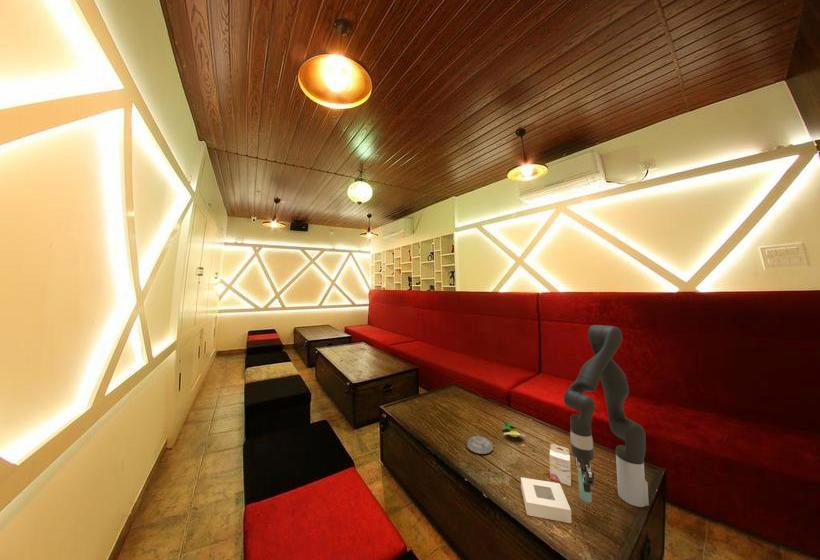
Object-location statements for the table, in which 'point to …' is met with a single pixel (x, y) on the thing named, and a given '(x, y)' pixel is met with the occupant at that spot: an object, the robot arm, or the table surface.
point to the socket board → (545, 500)
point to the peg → (583, 495)
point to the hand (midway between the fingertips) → (584, 486)
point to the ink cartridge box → (560, 464)
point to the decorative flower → (512, 433)
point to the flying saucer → (479, 445)
